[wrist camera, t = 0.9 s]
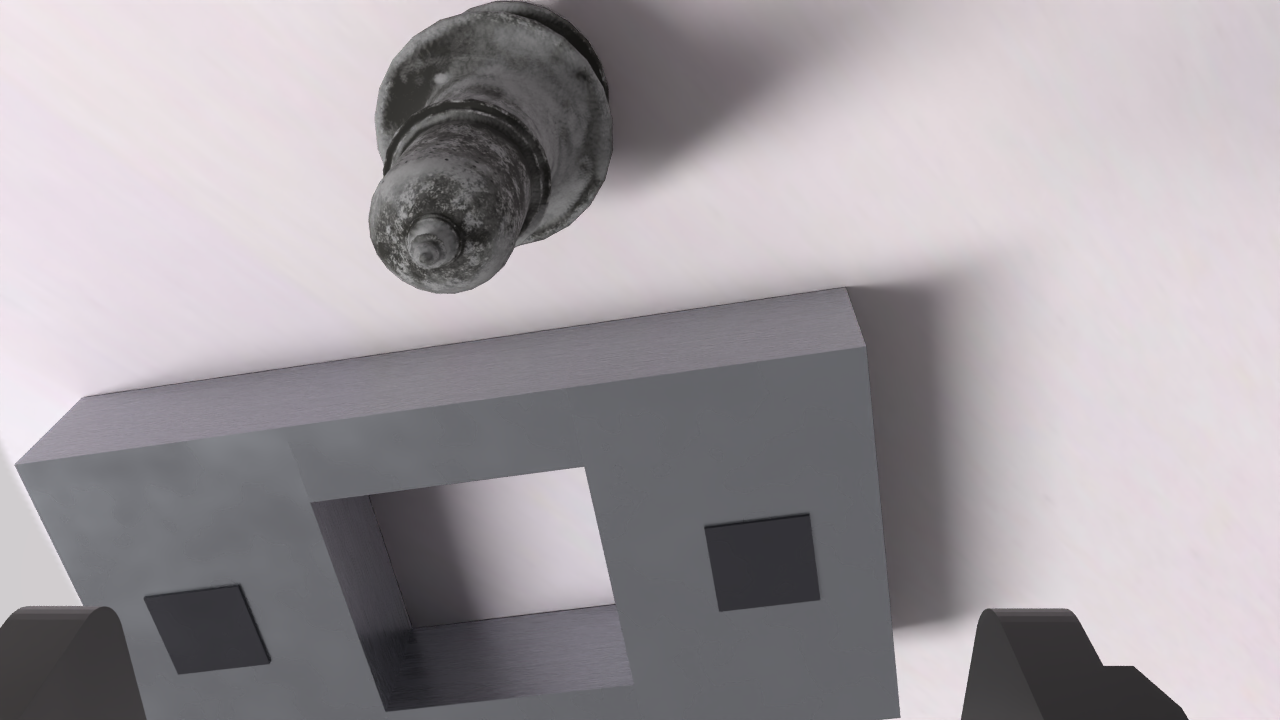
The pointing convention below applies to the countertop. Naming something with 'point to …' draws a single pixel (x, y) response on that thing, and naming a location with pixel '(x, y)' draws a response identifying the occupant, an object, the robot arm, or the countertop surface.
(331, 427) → the gray slotted block
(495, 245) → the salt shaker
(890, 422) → the countertop surface
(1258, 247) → the countertop surface
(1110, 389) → the countertop surface
